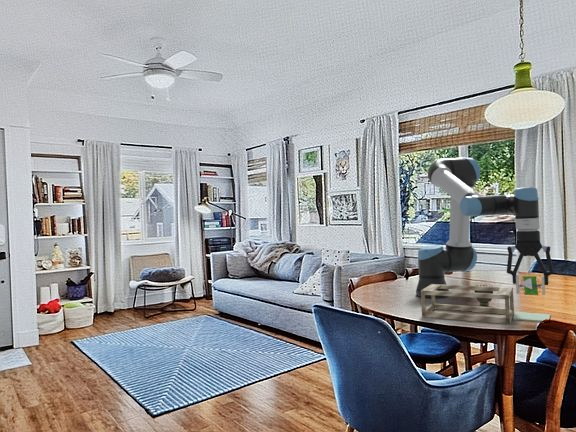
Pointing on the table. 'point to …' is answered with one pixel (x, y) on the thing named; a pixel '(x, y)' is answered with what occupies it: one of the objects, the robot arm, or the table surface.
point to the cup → (484, 300)
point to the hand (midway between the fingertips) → (530, 293)
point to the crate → (501, 294)
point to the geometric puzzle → (530, 285)
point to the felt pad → (530, 316)
